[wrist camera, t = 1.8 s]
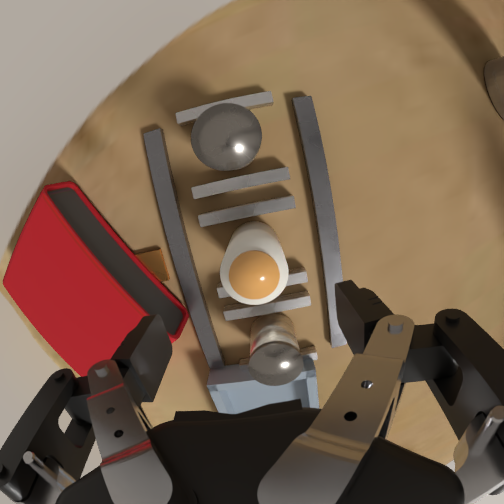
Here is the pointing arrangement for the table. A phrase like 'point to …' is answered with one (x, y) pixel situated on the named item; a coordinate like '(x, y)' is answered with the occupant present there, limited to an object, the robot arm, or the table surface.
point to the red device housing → (83, 280)
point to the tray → (259, 389)
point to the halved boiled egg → (254, 264)
